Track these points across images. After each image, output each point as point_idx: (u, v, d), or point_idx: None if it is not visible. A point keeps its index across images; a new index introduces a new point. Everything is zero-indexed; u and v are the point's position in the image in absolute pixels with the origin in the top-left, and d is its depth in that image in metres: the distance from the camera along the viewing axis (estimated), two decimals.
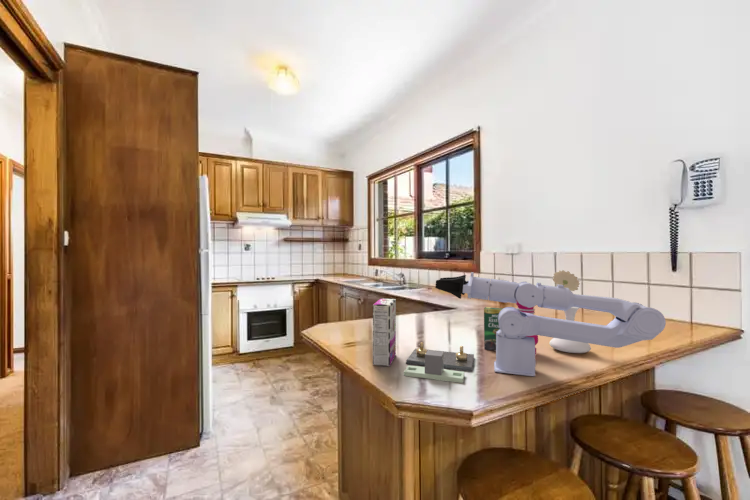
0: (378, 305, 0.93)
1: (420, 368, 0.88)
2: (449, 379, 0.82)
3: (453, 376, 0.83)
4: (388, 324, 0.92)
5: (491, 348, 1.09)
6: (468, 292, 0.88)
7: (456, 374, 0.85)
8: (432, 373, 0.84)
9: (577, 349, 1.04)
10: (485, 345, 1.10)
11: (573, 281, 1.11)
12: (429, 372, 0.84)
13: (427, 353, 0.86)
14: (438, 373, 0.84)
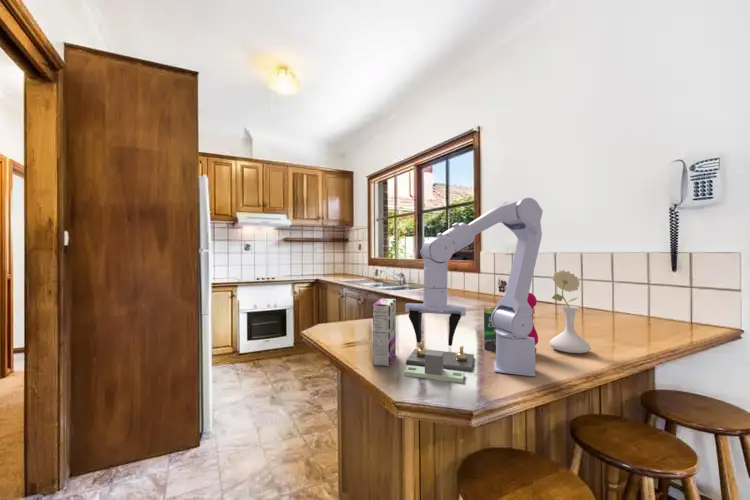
0: (378, 305, 0.93)
1: (420, 368, 0.88)
2: (449, 379, 0.82)
3: (453, 376, 0.83)
4: (388, 324, 0.92)
5: (491, 348, 1.09)
6: None
7: (456, 374, 0.85)
8: (432, 373, 0.84)
9: (577, 349, 1.04)
10: (485, 345, 1.10)
11: (573, 281, 1.11)
12: (429, 372, 0.84)
13: (427, 353, 0.86)
14: (438, 373, 0.84)
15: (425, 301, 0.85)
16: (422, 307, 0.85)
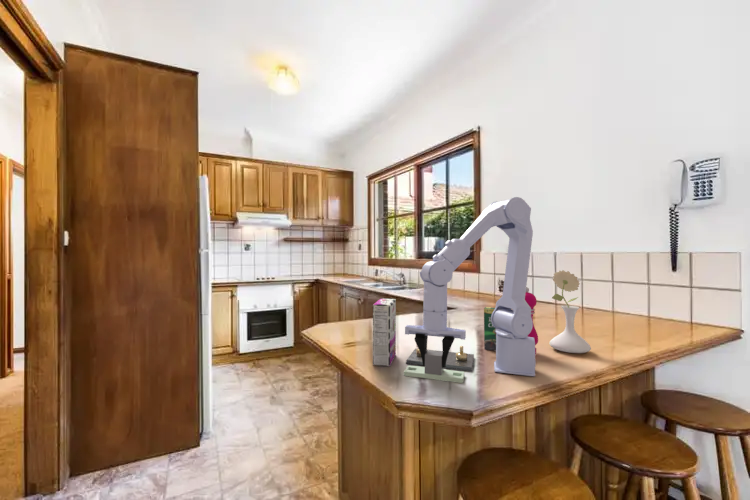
0: (378, 305, 0.93)
1: (420, 368, 0.88)
2: (449, 379, 0.82)
3: (453, 376, 0.83)
4: (388, 324, 0.92)
5: (491, 348, 1.09)
6: (465, 332, 0.84)
7: (456, 374, 0.85)
8: (432, 373, 0.84)
9: (577, 349, 1.04)
10: (485, 345, 1.10)
11: (573, 281, 1.11)
12: (429, 372, 0.84)
13: (427, 353, 0.86)
14: (438, 373, 0.84)
15: (425, 324, 0.85)
16: (422, 330, 0.85)
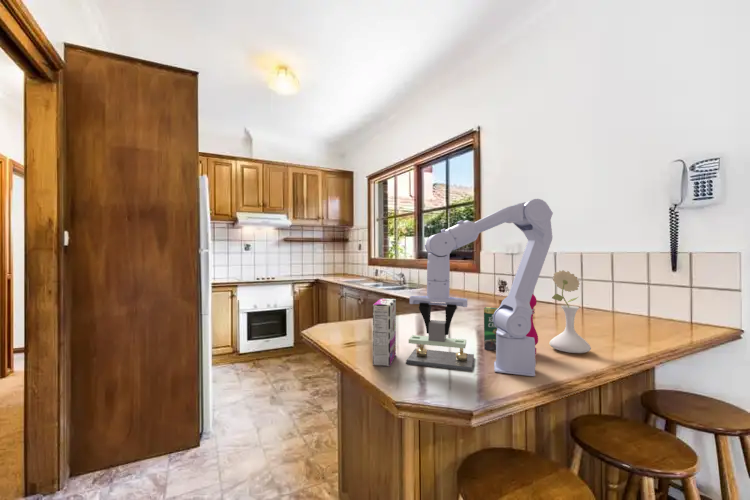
0: (378, 305, 0.93)
1: (424, 337, 0.92)
2: (452, 345, 0.87)
3: (456, 342, 0.87)
4: (388, 324, 0.92)
5: (491, 348, 1.09)
6: None
7: (458, 341, 0.90)
8: (435, 340, 0.88)
9: (577, 349, 1.04)
10: (485, 345, 1.10)
11: (573, 281, 1.11)
12: (433, 339, 0.89)
13: (431, 322, 0.90)
14: (441, 340, 0.88)
15: (428, 293, 0.89)
16: (426, 299, 0.89)
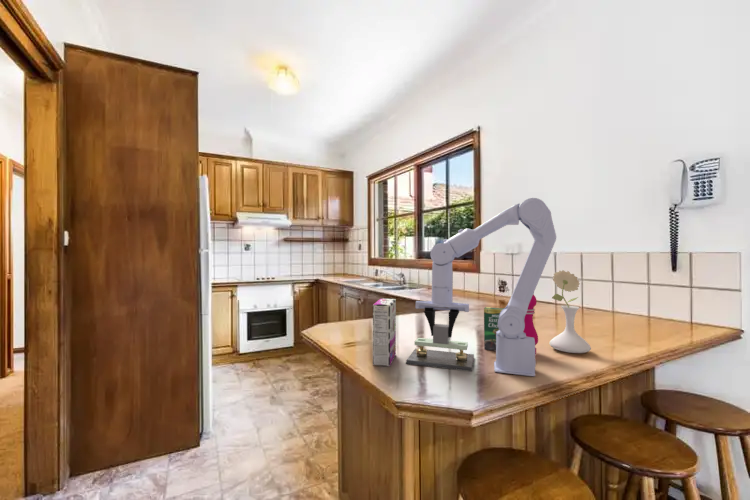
0: (378, 305, 0.93)
1: (428, 339, 1.00)
2: (454, 347, 0.94)
3: (458, 345, 0.94)
4: (388, 324, 0.92)
5: (491, 348, 1.09)
6: (468, 305, 0.96)
7: (460, 344, 0.97)
8: (439, 342, 0.96)
9: (577, 349, 1.04)
10: (485, 345, 1.10)
11: (573, 281, 1.11)
12: (437, 341, 0.96)
13: (435, 325, 0.97)
14: (445, 342, 0.95)
15: (433, 299, 0.97)
16: (430, 304, 0.97)
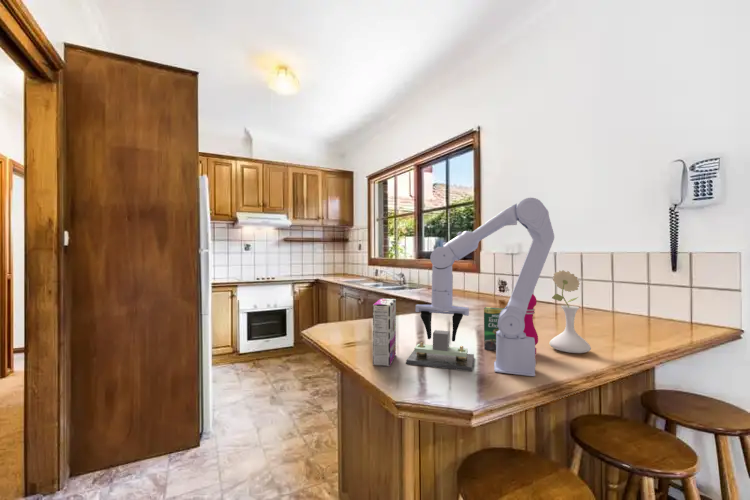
0: (378, 305, 0.93)
1: (428, 346, 1.00)
2: (454, 354, 0.94)
3: (458, 351, 0.94)
4: (388, 324, 0.92)
5: (491, 348, 1.09)
6: None
7: None
8: (439, 349, 0.96)
9: (577, 349, 1.04)
10: (485, 345, 1.10)
11: (573, 281, 1.11)
12: (437, 348, 0.96)
13: (435, 332, 0.97)
14: (445, 349, 0.95)
15: (433, 302, 0.97)
16: (430, 308, 0.97)
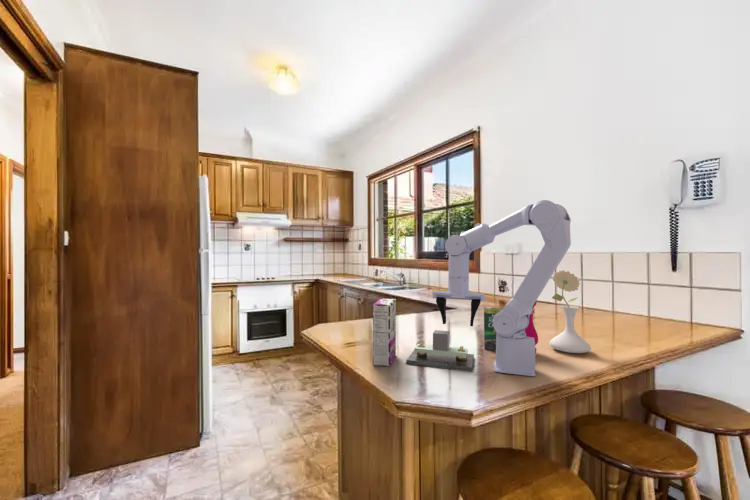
0: (378, 305, 0.93)
1: (428, 346, 1.00)
2: (454, 354, 0.94)
3: (458, 351, 0.94)
4: (388, 324, 0.92)
5: (491, 348, 1.09)
6: None
7: None
8: (439, 349, 0.96)
9: (577, 349, 1.04)
10: (485, 345, 1.10)
11: (573, 281, 1.11)
12: (437, 348, 0.96)
13: (435, 332, 0.97)
14: (445, 349, 0.95)
15: (450, 289, 1.00)
16: (447, 294, 1.00)
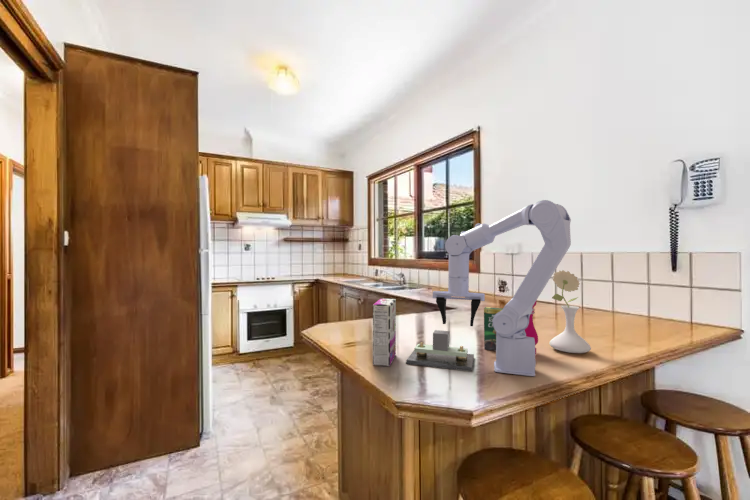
0: (378, 305, 0.93)
1: (428, 346, 1.00)
2: (454, 354, 0.94)
3: (458, 351, 0.94)
4: (388, 324, 0.92)
5: (491, 348, 1.09)
6: None
7: None
8: (439, 349, 0.96)
9: (577, 349, 1.04)
10: (485, 345, 1.10)
11: (573, 281, 1.11)
12: (437, 348, 0.96)
13: (435, 332, 0.97)
14: (445, 349, 0.95)
15: (450, 289, 1.00)
16: (447, 294, 1.00)
